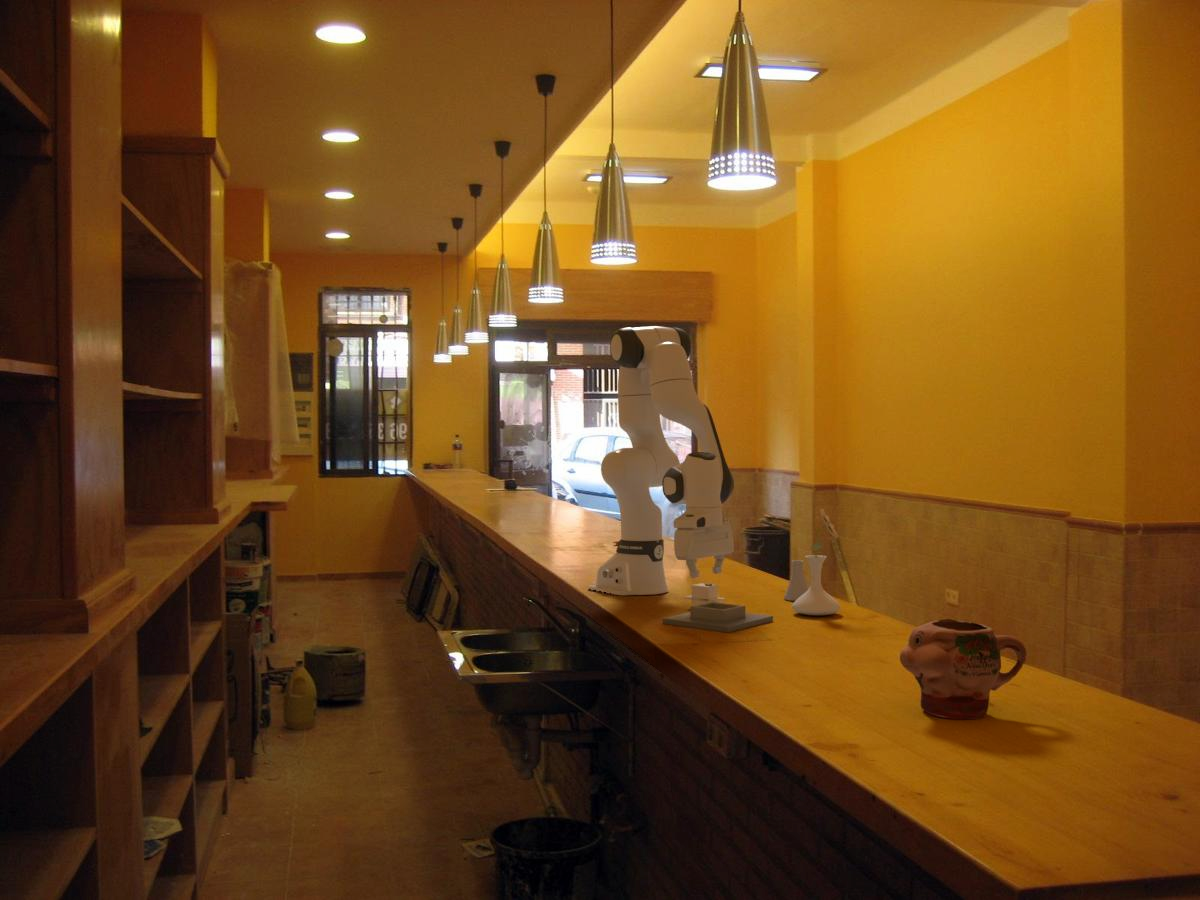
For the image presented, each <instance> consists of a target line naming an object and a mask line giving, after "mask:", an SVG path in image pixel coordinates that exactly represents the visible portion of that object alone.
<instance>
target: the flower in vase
mask: <svg viewBox="0 0 1200 900" xmlns="http://www.w3.org/2000/svg"><path fill="white" fill-rule="evenodd" d="M819 513H820V515H821V519H822V520H823V525H822V526H821V529H820V531H819V533H818V536H817V538H816V541H815V542H814V543H813V545H812V546H811V548H810V550H812V551H815V554H810V555H805V558H806V560H807V562H808V564H809V569H810V576H811V577H810V580H811V581H810V586H809V587H808V591H806V592H805V593H804V594H803V595H802V596H800V597H799V598H798V599H797V600H796V601H793V603H792V604H791V608H792V610H793V611H795V612H796V613H799V614H802V615H807V616H829V615H834V614H836V613H838V612H840V610H841V605H840V603H839V602H838V601H837V600H836V599H835V598H834V597H832V596H831V595H830V594H829V593H828V592H827V591H825V590H824V588H823V586H822V581H821V579H822V577H821V576H822V568H823V564H824V562H825V560H826V559H827V555H820V554H819V555H818V550H820V549H821V550H823V551H824V549H825V546H824V544H823V542H822V541H821V540H820V536H821V534H822V533H823V530H824V529H825V528H827V530H828V531H829V533H830V534H831V536H832V537H834V538H835V539H838V532H837V531H836V530H835V525H834V524H833V523H831V520H830V516H829V515H827V514H826V512H825V509H824V508H820V509H819Z"/></svg>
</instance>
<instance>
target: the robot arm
mask: <svg viewBox="0 0 1200 900" xmlns="http://www.w3.org/2000/svg"><path fill="white" fill-rule="evenodd" d="M609 351H610V352H609V353H610V357H611V359H612V361H613V362H614V363H615V365H617V366H619V371H618V377H617V378H618V379H617V380H618V381H617V405H618V406H617V408H618V424H619V427H620V429H621V430H622V431H623V432H625V433H626V434H627V436H628V438H629V440H630V442H631V446H632V447H622V448H618V449H616V450H612V451H610V452H608V453H607V454H606V455H605V456H604V457H603V459H602V461H601V466H600V472H601V476H602V479H603V481H604V483H606V485H608V486H609V487H610V488H611V490H612V491H613V493H614V495H615V499H616V501H617V504H618V508H619V513H620V533H621V534H620V537H621V538H620V539H619V540H618V541H614V542H612V543H613V544H614V545H613V546H612V547H617V548H616V550H615V553H614V554H613V555H611V556H610V557H609V558H608V559H607V560H606V561H605V562H603V563H602V564H601V565H600V566H599V568H598V569H597V575H596V581H595V582H596V583H593V584H589V585H588V587H587V589H591V590H590V591H593V590H596V591H595V592H599V591H601V592H600V593H604V592H606V594H610V593H611V594H610V595H617V596H645V595H646V596H647V595H659V594H665V593H668V592H669V589H668V584H667V579H666V575H665V568H664V553H665V549H664V548H665V547H664V545H665V542H664V538H663V513H662V510H661V508H660V506H659V505H657V504H655V502H654V500H653V499H652V495H651V492H650V488H659V487H662V493H663V495H664V498H666V499H667V501H668V502H670V503H671V504H675V505H685V512H683V513H681V514H680V515H679V516H678V517H675V518H674V519H673V522H672V523H673V528H674V529H675V531H674V536H673V547H674V548H673V549H674V550H673V551H674V556H675V558H676V559H677V561H685V565H686V566H687V568H688V570H689V577H690V578H691V579H697V578H700V570H699V569H697V566H696V564H697V563H698V562H697V560H698V559H704V558H711V557H713V558H714V560H715V561H714V564H713V566H712V574H714V575H717V574H722V572H723V569H722V568H723V564H724V562H725V555H729V554H732V553H734V549H735V545H734V544H735V543H734V541H735V540H734V534H733V529H732V526H731V525H730V520H729V519H728V518H727V517H726V516H723V504H724V503H725V502H727V500H728V499H729V498H730V497H731V495H732V494H733V491H734V489H735V481H734V476H733V473H732V472H731V469H730V468H729V466H728V463H727V461H726V458H725V455H724V451H723V449H722V445H721V441H720V438H719V435H718V432H717V428H716V425H715V422H714V418H713V416H712V413H711V411H710V409H709V407H708V406H707V405H706V404H704V403H703V402H702V401H701V399H700V398H699V396H698V394H697V392H696V389H695V386H694V381H693V374H692V370H691V366H690V363H689V358H690V357H691V352H692V341H691V338H690V336H689V334H688V333H687V331H686V330H684V329H682V328H678V327H674V326H671V327H668V326H667V327H666V326H659V325H649V326H640V327H639V326H636V327H631V326H629V327H628V326H627V327H623V328H619V329H617V330H616V331H615V332H613V335H612V336H611V339H610V343H609ZM661 417H663V418H665V419H667V420H669V421H670V422H674V423H677V424H678V425H681V426H683V427H685V428H687V429H688V430H690V431H691V432H692V433H693V434H694V435H695V437H696V439H697V440H696V441H697V442H698V443H697V444H698V446H699V449H700V451H694V452H691V453H688V454H686V456H685V459H684V460H683V462H680V459H679V457H678V455H677V454H676V453H675V452H674V451H673V450H672V449H671V447H670V446H669V443H668V442H667V439H666V437H665V435H664V432H663V429H662V428H663V427H662V422H661Z"/></svg>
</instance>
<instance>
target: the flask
mask: <svg viewBox="0 0 1200 900" xmlns="http://www.w3.org/2000/svg"><path fill="white" fill-rule="evenodd" d="M790 563H791V564H792V570H791V571H792V572H791V576H790V580H789V583H788V586H787V589H786V591H785V593H784V596H783V599H784V600H786V601H793V602H795V601H796V600H797V599H798V598H799V597H800V596H802V595H803V594H804V593H805V592H806V591H808V589H809V587H808V586H809V585H808V583H807V580H806V578H805V573H804V563H805V561H804V560H799V559H798V560H797V559H796V560H794V559H793V560H791V562H790Z"/></svg>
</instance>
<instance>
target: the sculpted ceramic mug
mask: <svg viewBox="0 0 1200 900" xmlns="http://www.w3.org/2000/svg"><path fill="white" fill-rule="evenodd" d="M908 637H909V638H908V643H907V644H906V646H905V647H904V648H903V649H902V650H901V652H900V653H899V661H900V664H901V665H902V666H903V668H904V669H906V670H907V671H908V672H909V673H911V674H912V675H913V676H914V678H915V680H916V681H917V683H918V684H919V688H920V707H921V710H923V711H925V712H926V713H928V714H930V715H933V716H936V717H939V718H940V717H941V718H946V719H952V720H976V719H980V718H981V719H982V718H984V717H985V716H986V714H987V713H988V710H989V705H990V704H989V702H990V695H991V694H990V692H991V691H993V692H995V691H997V690H998V689H999V688H1001V687H1003V686H1004V685H1005V684H1007V683H1009V682H1010V681H1011V680H1012V679H1014V678H1015V677H1016V676H1017V674H1018V673H1019V672H1020V671H1021V669H1023V665H1024V664H1025V663H1026V660H1027V650H1026V647H1025V644H1024V643H1023V642H1022V641H1021V640H1019V638H1017V637H1014V636H1013V635H1006V634H999V635H997V634H994V629H993V628H992V627H990V626H987V625H985V624H983V623H982V624H981V623H975V622H970V621H961V620H956V619H950V618H945V619H939V620H935V621H930V622H926V623H925V624H921V625H919V626H916V627H915V628H914V629H913V630H912V631H911V634H910V635H909V636H908ZM1003 649H1011V650H1013V651H1014V652H1015V655H1016V658H1017V660H1016V662H1015V664H1014V666H1013V667H1012V668H1011V669H1010V670H1009V671H1007V672H1001V669H1002V658H1001V657H1002V656H1001V651H1002V650H1003Z"/></svg>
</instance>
